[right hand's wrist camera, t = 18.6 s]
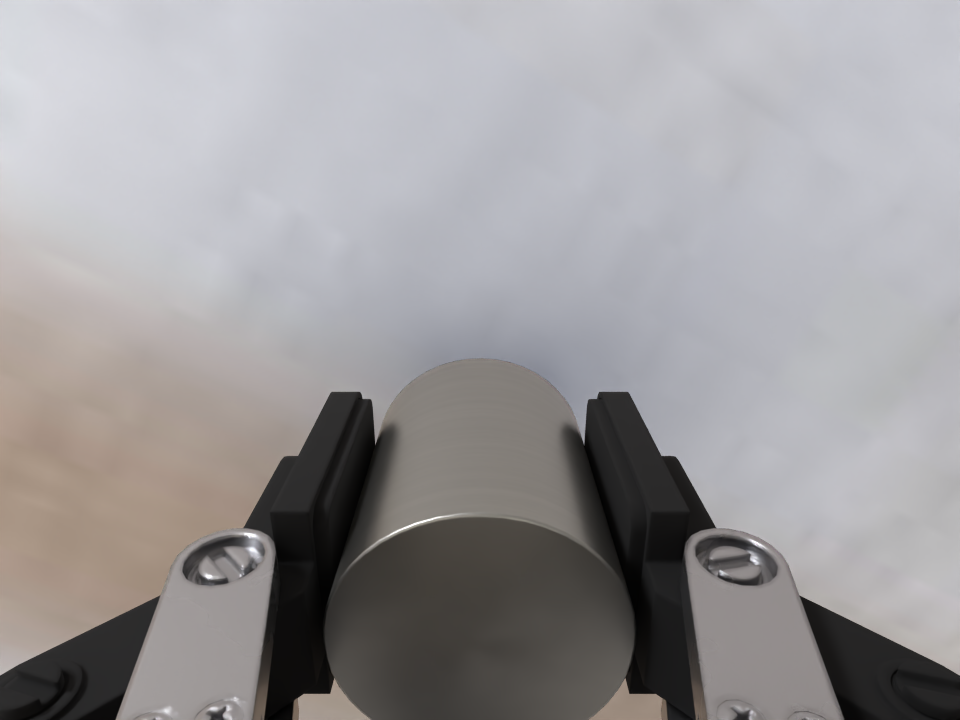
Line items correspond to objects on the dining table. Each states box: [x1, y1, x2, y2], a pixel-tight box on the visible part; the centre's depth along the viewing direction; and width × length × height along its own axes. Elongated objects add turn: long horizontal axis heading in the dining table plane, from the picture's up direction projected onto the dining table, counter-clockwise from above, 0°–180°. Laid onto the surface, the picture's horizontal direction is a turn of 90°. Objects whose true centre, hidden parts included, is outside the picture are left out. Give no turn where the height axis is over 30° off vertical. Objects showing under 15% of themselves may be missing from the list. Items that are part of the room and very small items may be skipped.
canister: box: [323, 358, 637, 720], centre depth 11 cm, size 4×4×5 cm
